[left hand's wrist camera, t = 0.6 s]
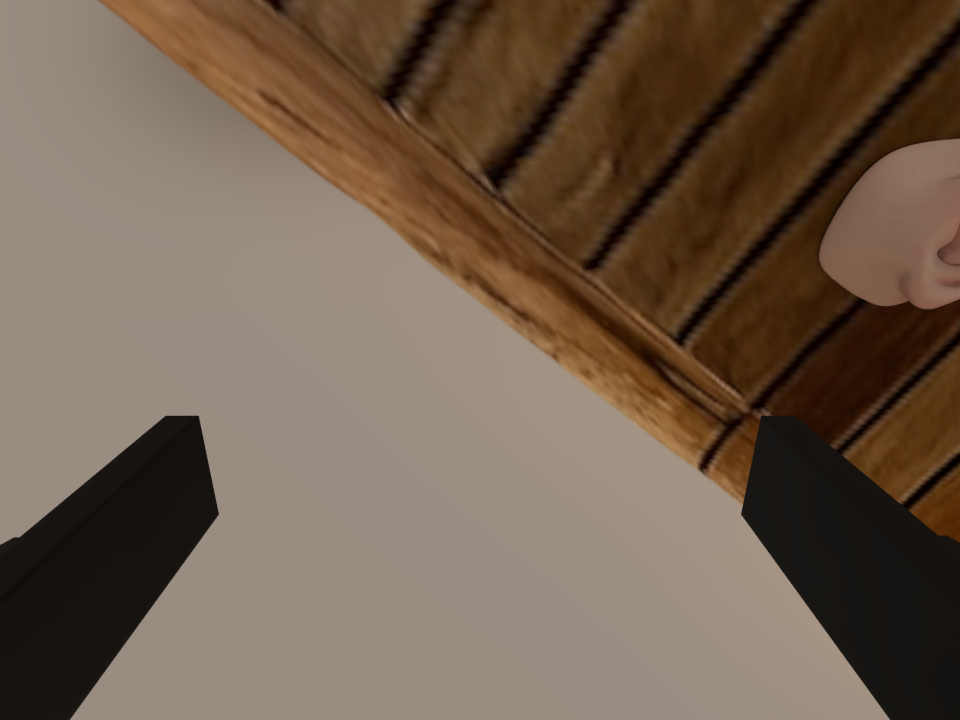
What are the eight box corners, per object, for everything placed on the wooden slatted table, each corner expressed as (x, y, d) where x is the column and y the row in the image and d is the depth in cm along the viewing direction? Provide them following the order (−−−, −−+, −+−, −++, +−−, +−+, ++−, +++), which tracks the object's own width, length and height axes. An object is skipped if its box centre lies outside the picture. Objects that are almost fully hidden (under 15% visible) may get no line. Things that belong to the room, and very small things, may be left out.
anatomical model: (838, 311, 35) (905, 116, 31) (802, 296, 38) (858, 121, 35) (1033, 332, 35) (1123, 144, 32) (980, 315, 39) (1054, 145, 35)
